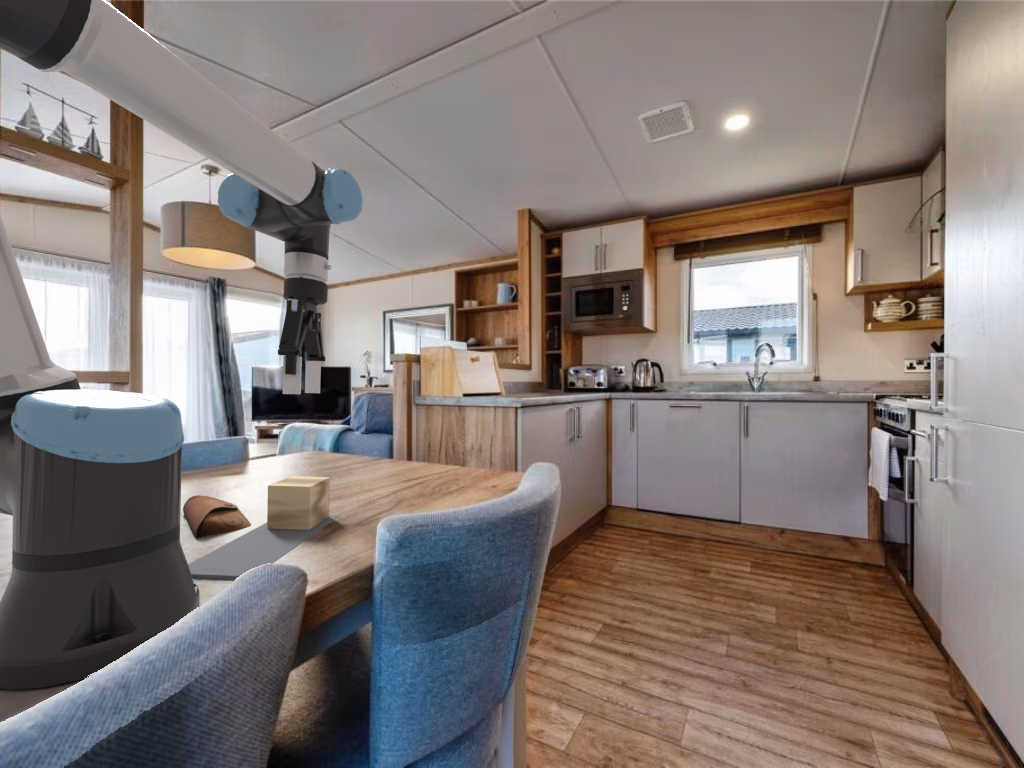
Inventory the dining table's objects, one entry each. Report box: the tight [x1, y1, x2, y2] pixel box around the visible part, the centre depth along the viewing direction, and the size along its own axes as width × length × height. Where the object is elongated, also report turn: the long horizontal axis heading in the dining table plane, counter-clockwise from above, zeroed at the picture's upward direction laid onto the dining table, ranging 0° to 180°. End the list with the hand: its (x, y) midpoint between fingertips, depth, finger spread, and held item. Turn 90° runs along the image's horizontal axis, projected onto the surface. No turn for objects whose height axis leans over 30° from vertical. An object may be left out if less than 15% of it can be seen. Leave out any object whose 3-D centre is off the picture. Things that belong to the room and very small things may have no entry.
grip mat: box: [188, 514, 340, 582], centre depth 66 cm, size 24×10×1 cm, turn 178°
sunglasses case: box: [182, 494, 252, 539], centre depth 75 cm, size 18×7×7 cm, turn 43°
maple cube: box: [266, 475, 331, 530], centre depth 73 cm, size 7×7×7 cm
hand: (302, 393), depth 81 cm, fingers open, 13 cm apart
